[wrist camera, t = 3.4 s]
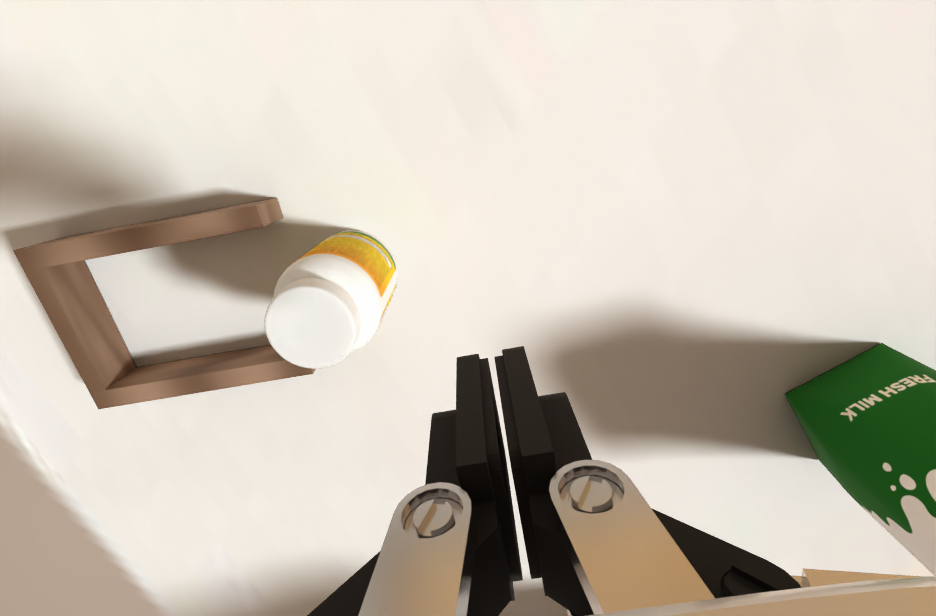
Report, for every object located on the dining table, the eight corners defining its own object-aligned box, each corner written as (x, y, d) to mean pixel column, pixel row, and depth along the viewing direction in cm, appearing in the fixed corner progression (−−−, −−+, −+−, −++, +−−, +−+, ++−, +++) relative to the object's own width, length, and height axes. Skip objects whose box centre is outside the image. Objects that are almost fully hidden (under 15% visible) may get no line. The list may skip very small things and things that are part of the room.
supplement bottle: (399, 311, 30) (372, 386, 22) (316, 308, 30) (255, 382, 21) (398, 229, 29) (368, 274, 20) (310, 226, 28) (240, 269, 19)
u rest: (277, 197, 28) (256, 205, 25) (326, 352, 31) (312, 373, 29) (57, 238, 29) (13, 250, 26) (130, 384, 32) (98, 409, 29)
